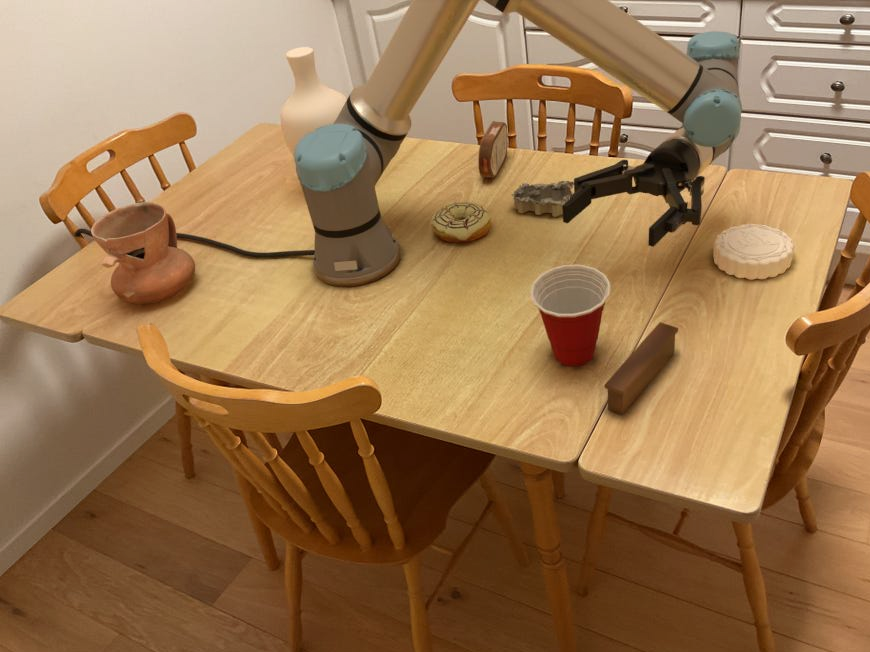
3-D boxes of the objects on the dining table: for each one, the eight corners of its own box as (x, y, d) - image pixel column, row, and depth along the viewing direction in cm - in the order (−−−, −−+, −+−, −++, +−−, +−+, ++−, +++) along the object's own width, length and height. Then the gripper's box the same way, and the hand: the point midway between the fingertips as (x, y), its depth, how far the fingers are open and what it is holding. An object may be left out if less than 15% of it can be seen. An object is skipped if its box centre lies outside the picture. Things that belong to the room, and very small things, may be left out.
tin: (497, 151, 166) (493, 114, 160) (511, 151, 165) (508, 113, 160) (479, 185, 155) (474, 146, 150) (494, 185, 154) (489, 146, 149)
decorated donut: (469, 251, 136) (466, 233, 134) (422, 238, 142) (418, 220, 139) (502, 223, 142) (499, 205, 140) (455, 211, 148) (452, 194, 145)
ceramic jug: (166, 320, 131) (132, 248, 122) (97, 313, 135) (60, 243, 126) (222, 261, 144) (195, 193, 135) (157, 257, 148) (127, 190, 139)
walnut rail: (605, 409, 102) (604, 384, 99) (659, 346, 110) (659, 321, 108) (623, 417, 101) (623, 391, 98) (677, 353, 109) (678, 327, 106)
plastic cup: (526, 373, 110) (518, 304, 102) (549, 327, 117) (543, 260, 109) (600, 385, 106) (598, 315, 98) (620, 337, 113) (619, 268, 105)
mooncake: (777, 235, 128) (780, 216, 126) (802, 275, 119) (806, 256, 117) (704, 244, 129) (706, 225, 127) (724, 284, 120) (726, 265, 118)
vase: (288, 190, 164) (246, 57, 146) (342, 164, 170) (309, 33, 152) (325, 210, 155) (287, 70, 137) (382, 181, 161) (352, 44, 144)
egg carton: (577, 200, 146) (576, 180, 143) (562, 220, 141) (561, 200, 138) (526, 193, 150) (524, 174, 147) (509, 212, 145) (507, 192, 143)
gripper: (754, 201, 114) (688, 272, 102) (606, 168, 127) (533, 228, 115) (760, 153, 110) (692, 222, 98) (606, 124, 123) (530, 182, 111)
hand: (606, 225), depth 106 cm, fingers open, 13 cm apart
